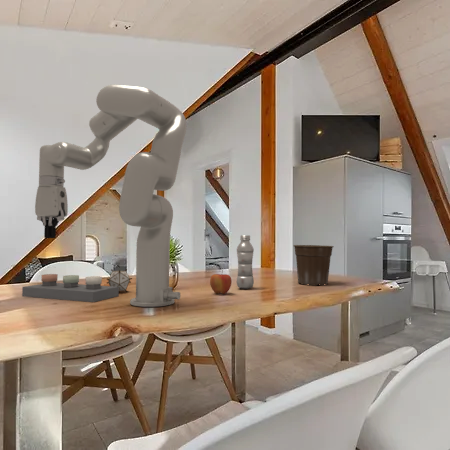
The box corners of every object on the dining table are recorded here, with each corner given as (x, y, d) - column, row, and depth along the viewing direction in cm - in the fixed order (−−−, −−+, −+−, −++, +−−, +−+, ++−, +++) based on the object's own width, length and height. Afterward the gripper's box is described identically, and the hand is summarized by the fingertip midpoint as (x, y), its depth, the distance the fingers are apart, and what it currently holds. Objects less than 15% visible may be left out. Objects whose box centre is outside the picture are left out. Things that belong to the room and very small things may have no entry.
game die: (121, 303, 126) (122, 282, 121) (100, 294, 128) (100, 272, 122) (135, 288, 134) (137, 267, 128) (115, 279, 135) (116, 258, 130)
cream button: (104, 291, 117) (105, 276, 117) (94, 293, 113) (94, 278, 113) (92, 290, 119) (92, 276, 119) (81, 292, 114) (82, 277, 114)
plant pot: (336, 282, 158) (336, 245, 158) (330, 287, 143) (330, 246, 144) (298, 280, 164) (298, 244, 165) (289, 285, 150) (289, 245, 150)
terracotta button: (60, 288, 123) (60, 274, 124) (49, 290, 119) (49, 275, 119) (49, 287, 125) (49, 273, 125) (37, 289, 121) (38, 275, 121)
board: (118, 296, 120) (118, 286, 120) (93, 302, 108) (93, 291, 108) (51, 291, 129) (52, 282, 129) (22, 296, 118) (22, 286, 118)
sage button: (82, 289, 120) (82, 275, 120) (71, 291, 116) (71, 277, 116) (70, 288, 122) (70, 274, 122) (59, 290, 117) (59, 276, 118)
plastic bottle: (256, 288, 139) (257, 235, 140) (248, 290, 133) (248, 235, 134) (242, 287, 143) (242, 235, 143) (233, 289, 137) (233, 235, 138)
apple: (207, 295, 123) (207, 271, 123) (213, 292, 130) (213, 269, 130) (228, 296, 121) (228, 271, 121) (233, 293, 128) (233, 269, 128)
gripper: (77, 183, 124) (76, 238, 124) (43, 185, 129) (41, 237, 129) (60, 180, 117) (58, 238, 116) (25, 182, 122) (23, 237, 122)
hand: (49, 237), depth 123 cm, fingers closed
